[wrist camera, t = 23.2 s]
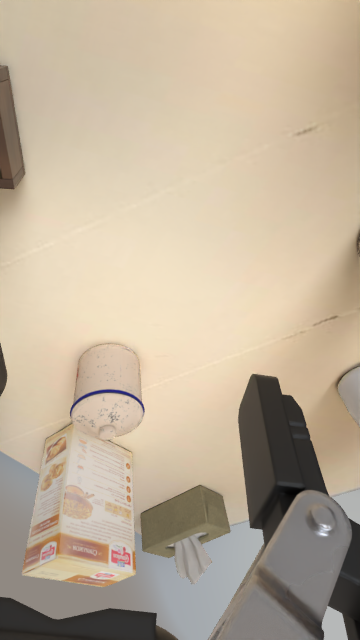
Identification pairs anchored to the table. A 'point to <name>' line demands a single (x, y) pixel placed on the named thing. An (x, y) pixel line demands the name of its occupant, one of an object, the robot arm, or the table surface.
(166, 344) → the table surface
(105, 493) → the coffeecake box
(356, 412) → the plastic bottle
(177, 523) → the tissue box
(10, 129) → the holder
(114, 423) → the teacup with lid
